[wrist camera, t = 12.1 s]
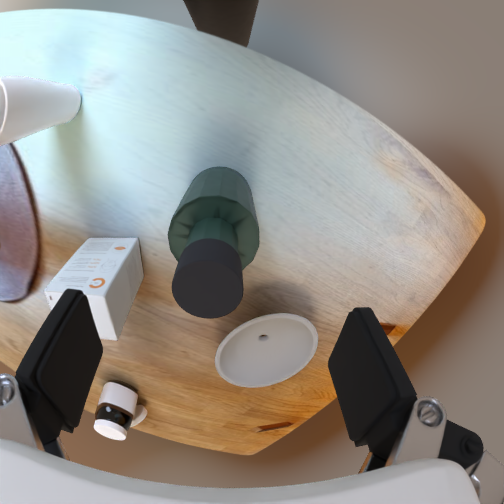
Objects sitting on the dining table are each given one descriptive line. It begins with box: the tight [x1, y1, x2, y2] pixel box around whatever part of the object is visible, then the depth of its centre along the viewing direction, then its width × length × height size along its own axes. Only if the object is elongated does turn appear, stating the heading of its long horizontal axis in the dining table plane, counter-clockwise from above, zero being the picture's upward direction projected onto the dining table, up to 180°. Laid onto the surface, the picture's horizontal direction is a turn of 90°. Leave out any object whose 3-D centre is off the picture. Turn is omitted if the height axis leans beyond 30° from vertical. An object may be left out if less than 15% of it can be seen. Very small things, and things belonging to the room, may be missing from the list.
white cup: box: [0, 76, 81, 146], centre depth 19 cm, size 7×7×15 cm
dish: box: [215, 313, 318, 388], centre depth 42 cm, size 18×14×5 cm
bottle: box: [168, 167, 259, 270], centre depth 27 cm, size 8×8×16 cm
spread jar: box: [94, 380, 147, 440], centre depth 47 cm, size 12×11×12 cm
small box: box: [44, 238, 144, 341], centre depth 31 cm, size 8×6×13 cm
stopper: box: [172, 238, 243, 318], centre depth 20 cm, size 4×4×7 cm
